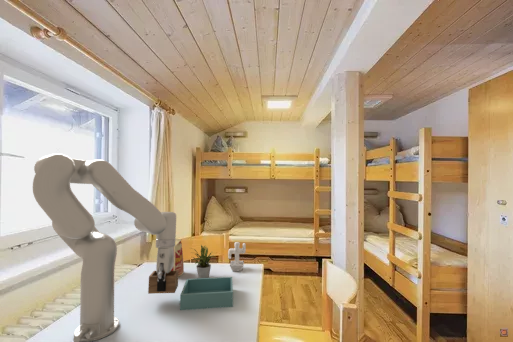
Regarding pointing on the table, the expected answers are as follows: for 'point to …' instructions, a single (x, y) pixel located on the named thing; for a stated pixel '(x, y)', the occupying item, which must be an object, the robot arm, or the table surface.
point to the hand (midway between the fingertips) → (163, 286)
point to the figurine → (236, 256)
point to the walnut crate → (170, 282)
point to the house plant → (203, 263)
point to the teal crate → (207, 293)
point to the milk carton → (178, 257)
